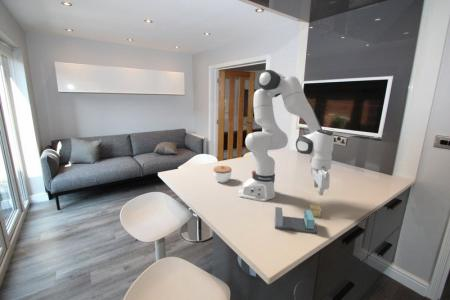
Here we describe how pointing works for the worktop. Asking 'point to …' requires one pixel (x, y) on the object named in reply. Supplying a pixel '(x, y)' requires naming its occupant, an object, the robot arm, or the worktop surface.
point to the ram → (309, 219)
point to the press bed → (291, 223)
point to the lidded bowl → (222, 173)
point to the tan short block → (315, 210)
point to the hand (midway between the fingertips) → (318, 190)
